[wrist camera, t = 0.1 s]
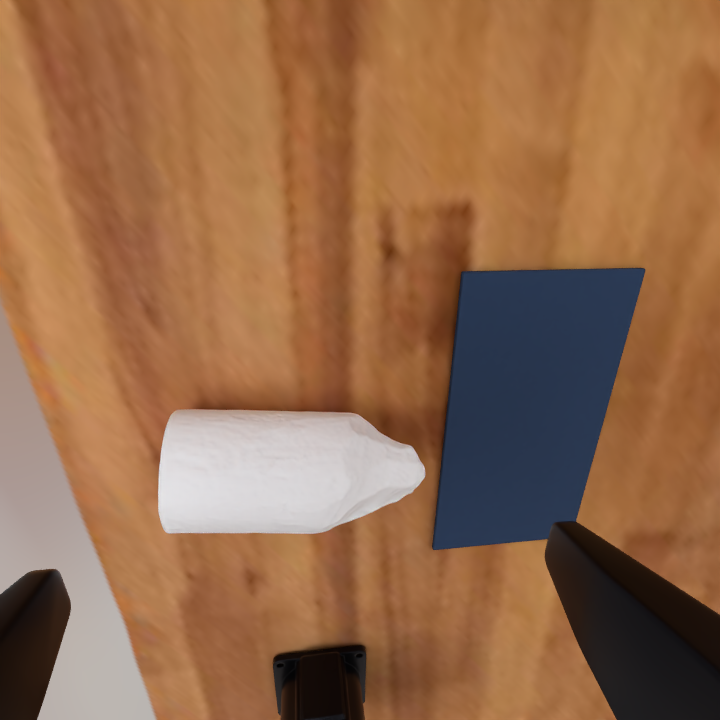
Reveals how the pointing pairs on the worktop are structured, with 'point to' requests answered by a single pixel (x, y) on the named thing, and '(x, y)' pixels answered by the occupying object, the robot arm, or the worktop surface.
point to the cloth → (528, 398)
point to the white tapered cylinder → (277, 471)
